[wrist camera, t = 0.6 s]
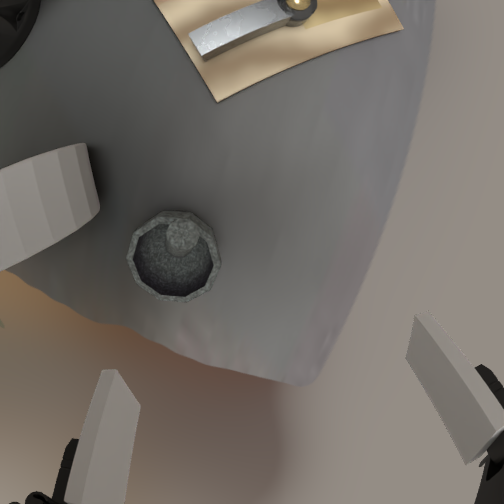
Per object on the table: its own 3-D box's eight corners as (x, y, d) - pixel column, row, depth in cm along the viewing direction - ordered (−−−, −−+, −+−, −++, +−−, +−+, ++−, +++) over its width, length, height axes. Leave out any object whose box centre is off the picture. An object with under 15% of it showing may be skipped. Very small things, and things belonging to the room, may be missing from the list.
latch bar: (297, -7, 23) (305, -20, 20) (315, 20, 25) (325, 9, 21) (189, 38, 25) (184, 28, 22) (207, 66, 27) (204, 59, 23)
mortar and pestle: (203, 282, 39) (196, 345, 28) (135, 257, 37) (104, 312, 26) (237, 204, 35) (242, 245, 24) (162, 174, 33) (131, 203, 22)
